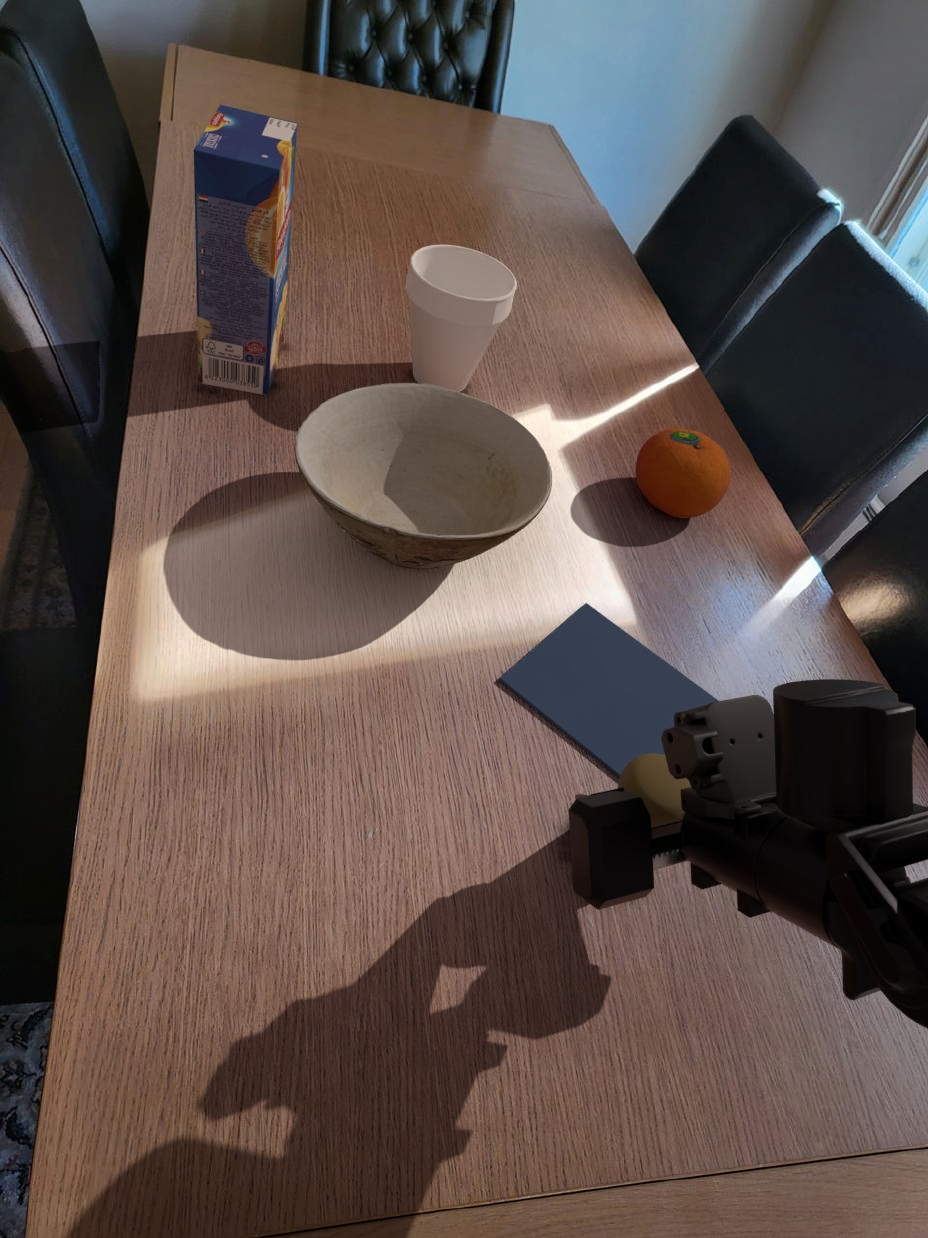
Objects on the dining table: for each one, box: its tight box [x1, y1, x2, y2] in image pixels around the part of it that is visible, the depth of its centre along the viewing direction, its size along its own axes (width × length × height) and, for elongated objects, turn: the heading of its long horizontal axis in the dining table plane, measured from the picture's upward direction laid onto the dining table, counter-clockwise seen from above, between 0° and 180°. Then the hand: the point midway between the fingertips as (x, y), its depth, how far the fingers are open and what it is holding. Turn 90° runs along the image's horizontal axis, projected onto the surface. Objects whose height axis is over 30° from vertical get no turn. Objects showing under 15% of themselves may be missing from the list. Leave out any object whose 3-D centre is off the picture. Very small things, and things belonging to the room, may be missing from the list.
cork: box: [617, 753, 691, 827], centre depth 60 cm, size 6×6×11 cm
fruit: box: [635, 428, 732, 519], centre depth 92 cm, size 11×10×8 cm
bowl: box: [293, 382, 553, 569], centre depth 79 cm, size 24×24×10 cm
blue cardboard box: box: [192, 104, 298, 396], centre depth 86 cm, size 12×8×24 cm, turn 0°
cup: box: [404, 244, 518, 393], centre depth 96 cm, size 12×12×14 cm
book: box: [498, 602, 719, 779], centre depth 74 cm, size 16×14×1 cm
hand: (633, 789), depth 60 cm, fingers open, 9 cm apart
